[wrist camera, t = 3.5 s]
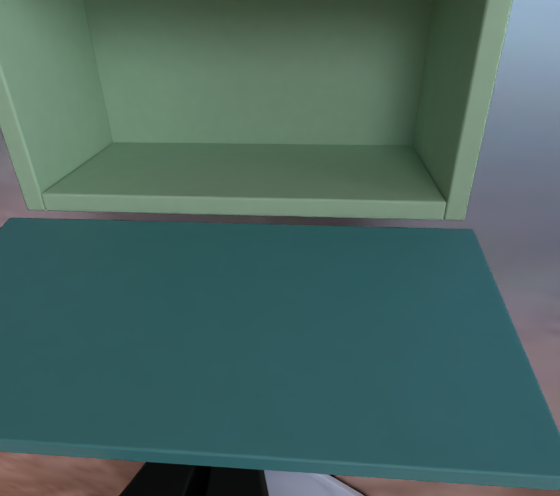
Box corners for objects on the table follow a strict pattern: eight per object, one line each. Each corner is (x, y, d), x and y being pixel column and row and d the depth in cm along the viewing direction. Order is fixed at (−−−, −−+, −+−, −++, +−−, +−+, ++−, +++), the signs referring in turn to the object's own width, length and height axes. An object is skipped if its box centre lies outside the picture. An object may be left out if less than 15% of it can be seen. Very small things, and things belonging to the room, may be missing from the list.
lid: (473, 228, 10) (469, 242, 10) (9, 217, 11) (16, 230, 11) (581, 480, 6) (568, 491, 6) (-188, 428, 6) (-170, 441, 7)
